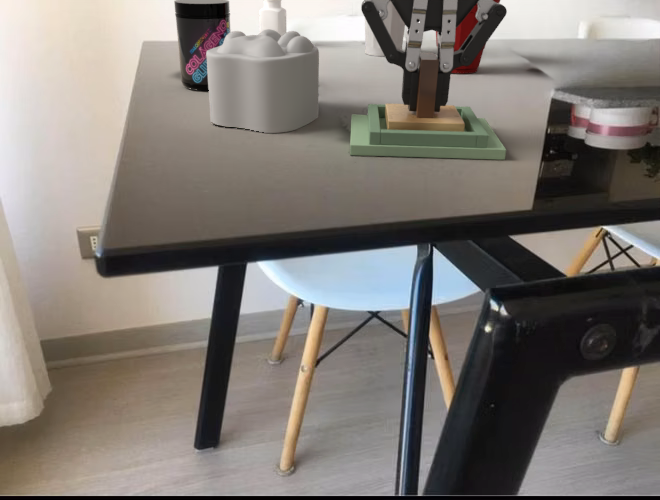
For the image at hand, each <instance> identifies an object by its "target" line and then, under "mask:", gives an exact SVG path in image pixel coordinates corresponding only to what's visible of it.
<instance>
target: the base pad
mask: <svg viewBox="0 0 660 500" xmlns="http://www.w3.org/2000/svg"><path fill="white" fill-rule="evenodd" d="M385 104H386V103H380V104H379V103H368V105H367V114H351V121H350V142H349V143H350V144H349V155H350V156H365V157H397V158H426V159H427V158H429V159H431V158H433V159H463V160H465V159H466V160H493V161H494V160H498V161H499V160H500V161H504V160H506V155H507V149H506V147H505V145H504V144H503V143H502V141H501V140H500V139H499V137H498V136H497V134H496V132H495V131H494V130H493V128H492V127H491V126H490V124H489V123H488V122H487V120H486V118H484V117H477V115H476V114H475V112H474V111H473V110H472V107H471V106H459V105H454V106H455V107H456V109H457V111H458V113H459V114H460V116H461V118H462V120H463V121H464V123H465V128H464V132H458V131H422V130H387V125H386V118H385Z"/></svg>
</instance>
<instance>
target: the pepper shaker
mask: <svg viewBox="0 0 660 500" xmlns="http://www.w3.org/2000/svg"><path fill="white" fill-rule="evenodd" d="M258 23H259V26H258V27H259V33H260V32H262V31H264V30H267V29H271V30H274V31H276V32H278V33H279V34H280V35H281V36H282V35H284V34H285V33H287V32H288V31H287V9H286V8H283V7H282V0H263V7H262V8H260V9H259V10H258Z"/></svg>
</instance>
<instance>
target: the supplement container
mask: <svg viewBox="0 0 660 500" xmlns="http://www.w3.org/2000/svg"><path fill="white" fill-rule="evenodd" d="M173 2H174V12H175V13H174V16H175V21H176V22H175V24H176V37H177V44H178V45H177V48H178V58H179V59H178V60H179V69H180V70H179V71H180V80H181V84H182V86H183V87H184V88H185V87H187V88H191V89H197V90H209V89H208V74H207V58H206V52H207V51H208V50H210V49H212V48H215V47H219V46H221V45H222V44H223V42H224V39H225V37H226V36H227V34H229V33H230V32H232V31H231V30H232V29H231V9H230V7H231V6H230V0H174V1H173ZM187 88H186V89H187Z"/></svg>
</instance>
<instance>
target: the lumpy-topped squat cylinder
mask: <svg viewBox="0 0 660 500" xmlns="http://www.w3.org/2000/svg"><path fill="white" fill-rule="evenodd" d="M286 32H287V33H285V34H284V35H282V36H281V35H280V34H279V33H278V32H276V31H274V30H271V29H267V30H264V31H262V32H260V31H259V33H258V34H250V35H246V34H245V32H243V31H240V30H233V31H231V32H230V33H229V34H227V36H226V37H225V39H224V42H223V44H222V45H221V46H219V47H215V48H212V49H210V50H208V51H207V52H206V58H207V74H208V89H209V91H208V103H209V118H210V123H211V122H213V123H215V124H217V125H222V126H229V127H239V128H245V129H250V130H249V131H251V130H254V131H253V132H256V131H259V132H258V133H262V132H264V134H280V133H288V132H291V131H295V130H298V129H300V128H302V127H304V126H306V125H308V124H311V123H312V122H314V120H316V119H317V118H318V117H319V92H320V91H319V87H320V86H319V85H320V83H319V81H320V80H319V79H320V77H319V76H320V75H319V73H320V72H319V71H320V70H319V69H320V51H319V48H318V47H317V46H316V45H315V44H314V43H313V42H312V41H311V39H309V38H308V37H306V36H304V35H301V33H299V32H298V31H296V30H289V31H286ZM245 129H244V130H245Z"/></svg>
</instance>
